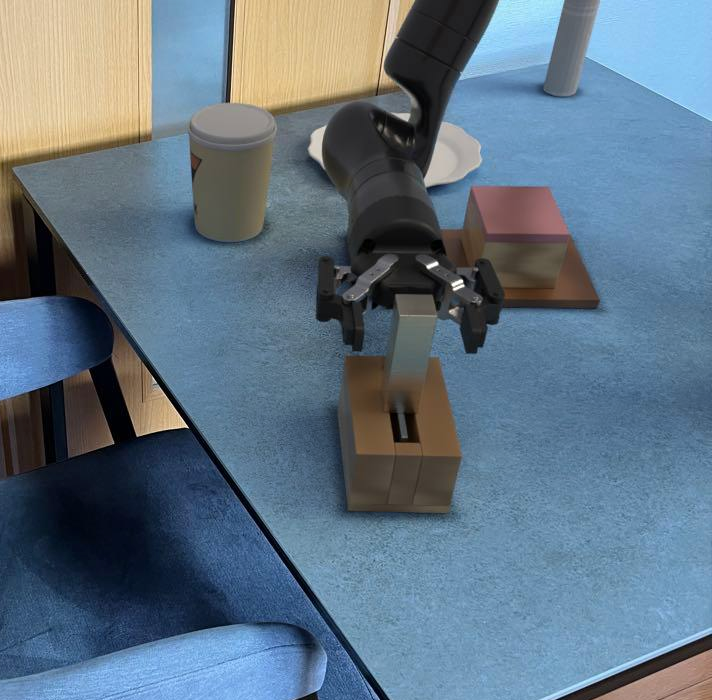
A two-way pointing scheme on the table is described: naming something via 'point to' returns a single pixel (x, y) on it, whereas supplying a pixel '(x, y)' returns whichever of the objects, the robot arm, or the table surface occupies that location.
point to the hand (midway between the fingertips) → (416, 343)
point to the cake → (521, 247)
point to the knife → (407, 358)
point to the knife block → (396, 460)
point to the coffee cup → (230, 169)
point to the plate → (449, 157)
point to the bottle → (570, 46)
